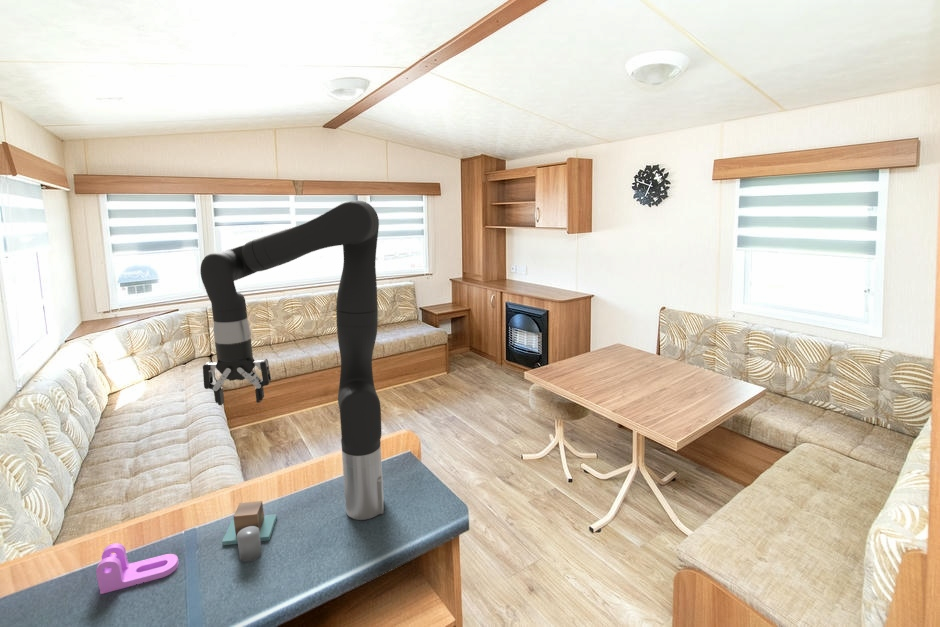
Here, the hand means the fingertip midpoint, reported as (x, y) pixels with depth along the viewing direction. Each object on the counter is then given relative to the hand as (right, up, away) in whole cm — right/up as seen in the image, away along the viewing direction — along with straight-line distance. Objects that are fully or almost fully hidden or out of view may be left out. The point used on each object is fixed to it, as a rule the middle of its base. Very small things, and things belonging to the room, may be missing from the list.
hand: (240, 402), depth 115 cm
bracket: (-13, -33, -15) cm, 39 cm away
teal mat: (+4, -30, -3) cm, 30 cm away
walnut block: (+4, -29, -3) cm, 29 cm away
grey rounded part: (+7, -31, -10) cm, 34 cm away
